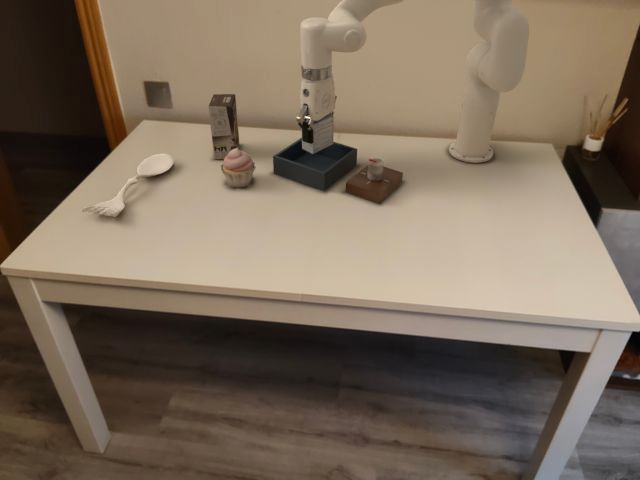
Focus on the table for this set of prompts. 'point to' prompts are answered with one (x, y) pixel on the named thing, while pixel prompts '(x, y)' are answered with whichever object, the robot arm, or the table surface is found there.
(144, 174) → the spoon
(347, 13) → the robot arm
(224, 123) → the coffee box
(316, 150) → the medicine box
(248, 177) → the cupcake
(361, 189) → the panel
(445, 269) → the table surface
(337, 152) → the open box
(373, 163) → the tap knob
